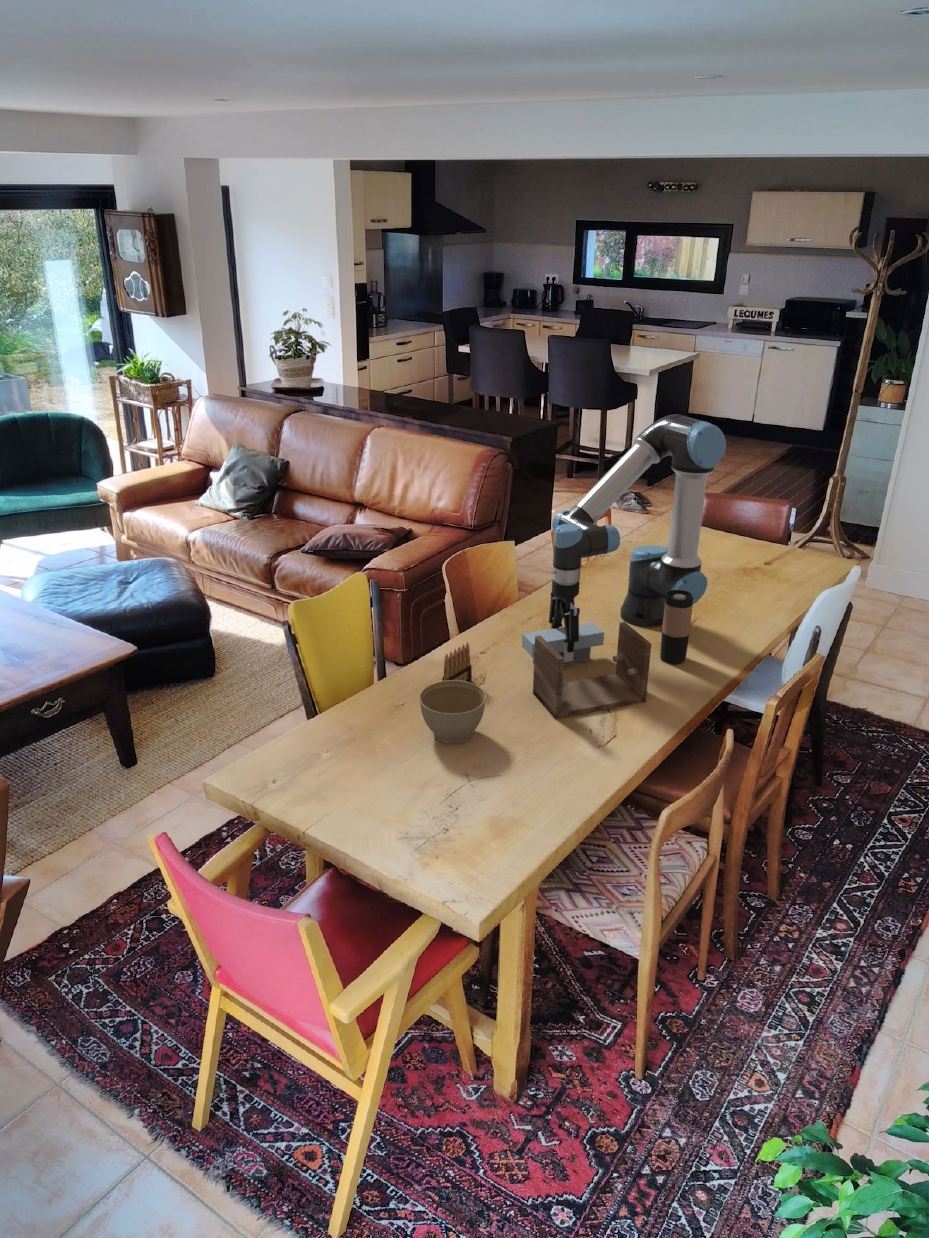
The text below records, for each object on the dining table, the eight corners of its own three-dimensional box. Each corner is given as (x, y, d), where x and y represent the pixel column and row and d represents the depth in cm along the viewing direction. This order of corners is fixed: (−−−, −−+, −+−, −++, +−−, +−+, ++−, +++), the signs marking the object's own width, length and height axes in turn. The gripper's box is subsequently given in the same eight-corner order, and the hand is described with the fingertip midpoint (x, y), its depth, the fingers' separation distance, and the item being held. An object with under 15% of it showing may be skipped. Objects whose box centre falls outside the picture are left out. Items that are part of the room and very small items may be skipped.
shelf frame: (619, 677, 252) (624, 621, 245) (645, 701, 240) (651, 643, 233) (532, 693, 244) (535, 636, 236) (555, 719, 232) (558, 659, 224)
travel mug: (654, 659, 262) (660, 595, 254) (668, 650, 267) (675, 587, 259) (677, 667, 257) (684, 602, 249) (691, 658, 262) (699, 594, 254)
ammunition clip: (466, 679, 251) (466, 639, 246) (472, 681, 250) (472, 641, 245) (442, 694, 243) (441, 654, 238) (447, 696, 242) (447, 656, 237)
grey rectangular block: (583, 654, 264) (584, 639, 262) (589, 660, 261) (590, 644, 259) (532, 663, 259) (533, 647, 257) (538, 669, 256) (539, 653, 254)
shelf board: (591, 634, 264) (592, 622, 263) (603, 644, 258) (604, 632, 257) (522, 646, 258) (522, 633, 256) (532, 657, 252) (532, 644, 250)
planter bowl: (410, 725, 229) (409, 687, 224) (469, 712, 235) (469, 675, 230) (434, 758, 215) (433, 718, 211) (496, 743, 221) (496, 704, 217)
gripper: (538, 569, 257) (535, 642, 267) (569, 596, 240) (565, 672, 250) (562, 566, 259) (559, 638, 269) (595, 592, 242) (590, 668, 252)
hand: (562, 654), depth 259 cm, fingers closed on shelf board, 7 cm apart
